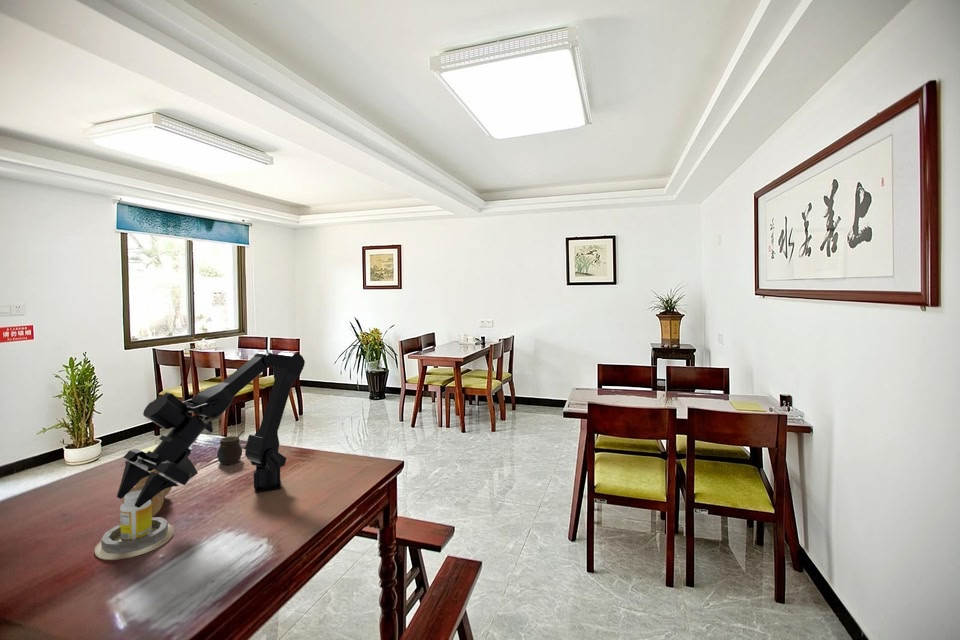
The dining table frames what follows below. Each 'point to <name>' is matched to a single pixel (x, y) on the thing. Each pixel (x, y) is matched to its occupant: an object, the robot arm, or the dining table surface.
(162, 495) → the pipe
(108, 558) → the holder ring
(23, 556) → the dining table surface
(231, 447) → the mate gourd
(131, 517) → the supplement bottle
